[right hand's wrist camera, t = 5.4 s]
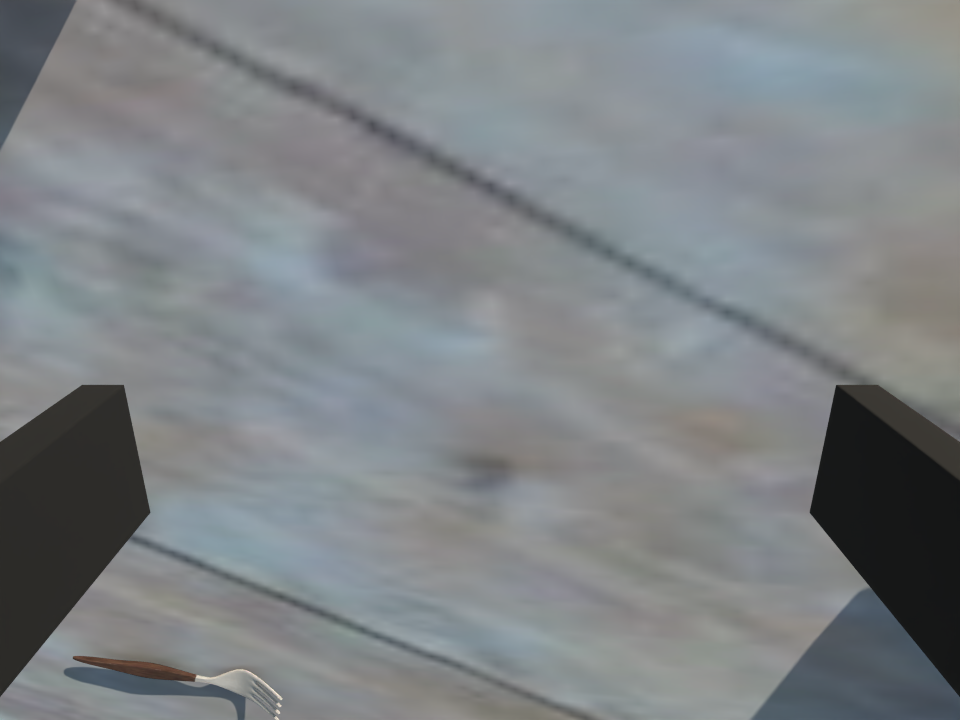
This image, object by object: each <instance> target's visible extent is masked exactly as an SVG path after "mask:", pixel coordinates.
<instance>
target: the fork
mask: <svg viewBox="0 0 960 720" xmlns="http://www.w3.org/2000/svg"><path fill="white" fill-rule="evenodd" d="M73 659H74V660H77V661H80V662H83V663H87V664H90V665H94V666H99V667H103V668H107V669H112V670H116V671H120V672H124V673H128V674H132V675H136V676H140V677H145V678H152V679H163V680H177V681H193V682H204V683H210V684H214V685H217V686H220V687H222V688H225V689H227V690H230V691H232V692H234V693H237V694H239V695H241V696H243V697H246V698H248V699H250V700H251V701H253V702H255V703H256V704H258V705H259V706H260V707H262V708H263V709H264V710H265V711H267V712H268V713H269V714H270V715H271V716H272V717H273V718H275V719H276V720H279V719H278V718H277V717H276V716H275V715H274V714H273V713H272V712H271V711H270V710H269V709H268V708H267V707H266V706H265V705H263V704H262V703H261V702H260V701H259V700H257V699H256V698H255V697H254V696H253V695H255V696H257V697H258V698H260V699H261V700H262V701H264V702H265V703H266V704H267V705H269V706H270V707H271V708H272V709H273V710H274V711H275V712H276V713H277V714H280V712H279V711H278V710H277V709H276V708H275V707H274V706H273V705H272V704H271V703H270V702H269V701H268V700H267V699H265V698H264V697H263V696H262V695H261V694H259V693H258V692H257V691H256V690H255V689H254V688H256V689H257V690H259V691H260V692H262V693H263V694H264V695H266V696H267V697H268V698H269V699H271V700H272V701H273V702H274V703H275V704H276V705H278V707H281V705H280V704H279V703H278V702H277V701H276V700H275V699H274V698H273V697H272V696H271V695H270V694H269V693H267V692H266V691H265V690H264V689H263V688H262V687H260V686H259V685H258V684H257V683H256V682H255V681H257V682H258V683H260V684H261V685H263V686H264V687H265V688H267V689H268V690H269V691H270V692H272V693H273V694H274V695H275V696H276V697H278V698H279V699H280V700H282V698H281V697H280V696H279V695H278V694H277V693H276V692H275V691H274V690H273V689H272V688H271V687H270V686H268V685H267V684H266V683H265V682H264V681H262V680H261V679H260V678H258V677H257V676H256V675H254V674H253V673H251V672H249V671H247V670H243V669H237V670H232V671H229V672H227V673H224V674H222V675H219V676H216V677H203V676H199V675H196V674H192V673H188V672H185V671H181V670H178V669H174V668H171V667H167V666H163V665H159V664H154V663H148V662H138V661H125V660H114V659H106V658H97V657H87V656H73Z"/></svg>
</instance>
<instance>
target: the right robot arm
mask: <svg viewBox="0 0 960 720" xmlns="http://www.w3.org/2000/svg"><path fill="white" fill-rule="evenodd" d="M149 514H150V509H149V504H148V499H147V494H146V490H145V485H144V480H143V475H142V470H141V466H140V461H139V456H138V451H137V446H136V441H135V437H134V432H133V427H132V422H131V417H130V413H129V408H128V403H127V398H126V393H125V389H124V385H81V386H80V387H79V388H77V389H76V390H74V391H73V392H71V393H70V394H69V395H67V396H66V397H64V398H63V399H61V400H60V401H59V402H57V403H56V404H54V405H53V406H51V407H50V408H48V409H47V410H46V411H44V412H43V413H41V414H40V415H38V416H37V417H36V418H34V419H33V420H31V421H30V422H28V423H27V424H25V425H24V426H23V427H21V428H20V429H18V430H17V431H15V432H14V433H13V434H11V435H10V436H8V437H7V438H5V439H4V440H3V441H1V442H0V696H1V695H2V694H3V693H4V692H5V690H6V689H7V688H8V687H9V685H10V684H11V683H12V682H13V680H14V679H15V678H16V677H17V676H18V674H19V673H20V672H21V671H22V669H23V668H24V667H25V666H26V665H27V663H28V662H29V661H30V660H31V658H32V657H33V656H34V655H35V653H36V652H37V651H38V650H39V649H40V647H41V646H42V645H43V644H44V642H45V641H46V640H47V639H48V638H49V636H50V635H51V634H52V633H53V631H54V630H55V629H56V628H57V626H58V625H59V624H60V623H61V622H62V620H63V619H64V618H65V617H66V615H67V614H68V613H69V612H70V611H71V609H72V608H73V607H74V606H75V604H76V603H77V602H78V601H79V599H80V598H81V597H82V596H83V595H84V593H85V592H86V591H87V590H88V588H89V587H90V586H91V585H92V584H93V582H94V581H95V580H96V579H97V577H98V576H99V575H100V574H101V572H102V571H103V570H104V569H105V568H106V566H107V565H108V564H109V563H110V561H111V560H112V559H113V558H114V557H115V555H116V554H117V553H118V552H119V550H120V549H121V548H122V547H123V545H124V544H125V543H126V542H127V541H128V539H129V538H130V537H131V536H132V534H133V533H134V532H135V531H136V530H137V528H138V527H139V526H140V525H141V523H142V522H143V521H144V520H145V518H146V517H147V516H148V515H149ZM810 514H811V515H812V516H813V517H814V518H815V520H816V521H817V522H818V523H819V525H820V526H821V527H822V528H823V530H824V531H825V532H826V533H827V534H828V536H829V537H830V538H831V539H832V541H833V542H834V543H835V544H836V545H837V547H838V548H839V549H840V550H841V552H842V553H843V554H844V555H845V557H846V558H847V559H848V560H849V561H850V563H851V564H852V565H853V566H854V568H855V569H856V570H857V571H858V572H859V574H860V575H861V576H862V577H863V579H864V580H865V581H866V582H867V584H868V585H869V586H870V587H871V588H872V590H873V591H874V592H875V593H876V595H877V596H878V597H879V598H880V599H881V601H882V602H883V603H884V604H885V606H886V607H887V608H888V609H889V611H890V612H891V613H892V614H893V615H894V617H895V618H896V619H897V620H898V622H899V623H900V624H901V625H902V626H903V628H904V629H905V630H906V631H907V633H908V634H909V635H910V636H911V638H912V639H913V640H914V641H915V642H916V644H917V645H918V646H919V647H920V649H921V650H922V651H923V652H924V653H925V655H926V656H927V657H928V658H929V660H930V661H931V662H932V663H933V665H934V666H935V667H936V668H937V669H938V671H939V672H940V673H941V674H942V676H943V677H944V678H945V679H946V680H947V682H948V683H949V684H950V685H951V687H952V688H953V689H954V690H955V692H956V693H957V694H958V695H959V696H960V442H959V441H957V440H956V439H955V438H953V437H952V436H950V435H949V434H947V433H946V432H945V431H943V430H942V429H940V428H939V427H937V426H936V425H935V424H933V423H932V422H930V421H929V420H927V419H926V418H924V417H923V416H922V415H920V414H919V413H917V412H916V411H914V410H913V409H912V408H910V407H909V406H907V405H906V404H904V403H903V402H901V401H900V400H899V399H897V398H896V397H894V396H893V395H891V394H890V393H889V392H887V391H886V390H884V389H883V388H881V387H880V386H879V385H836V389H835V393H834V398H833V403H832V408H831V413H830V417H829V422H828V427H827V432H826V437H825V441H824V446H823V451H822V456H821V461H820V466H819V470H818V475H817V480H816V485H815V490H814V494H813V499H812V504H811V509H810Z"/></svg>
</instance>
